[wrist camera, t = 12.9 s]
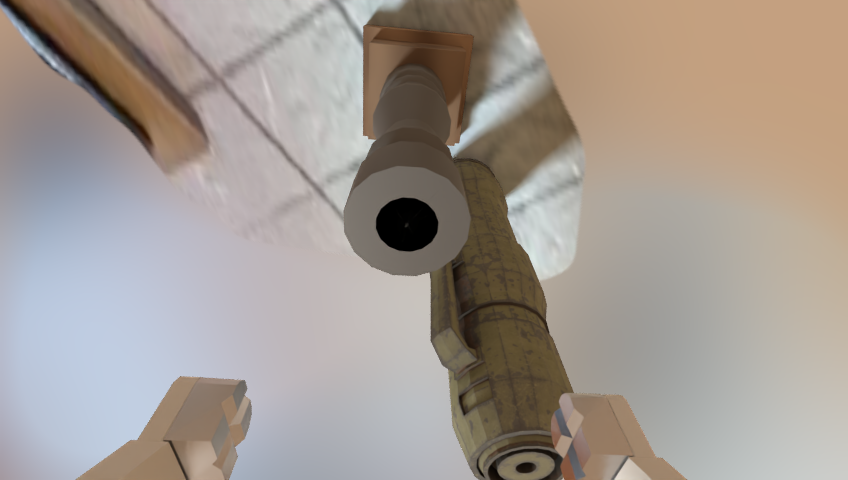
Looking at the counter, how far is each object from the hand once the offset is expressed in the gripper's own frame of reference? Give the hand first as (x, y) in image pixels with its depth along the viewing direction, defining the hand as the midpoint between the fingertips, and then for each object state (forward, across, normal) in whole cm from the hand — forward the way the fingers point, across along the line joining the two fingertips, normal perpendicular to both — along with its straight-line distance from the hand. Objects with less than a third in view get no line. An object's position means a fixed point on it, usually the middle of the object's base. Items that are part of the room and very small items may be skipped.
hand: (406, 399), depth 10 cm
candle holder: (+34, 0, 0) cm, 34 cm away
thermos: (+40, -7, +12) cm, 42 cm away
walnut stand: (+40, 0, 0) cm, 40 cm away
